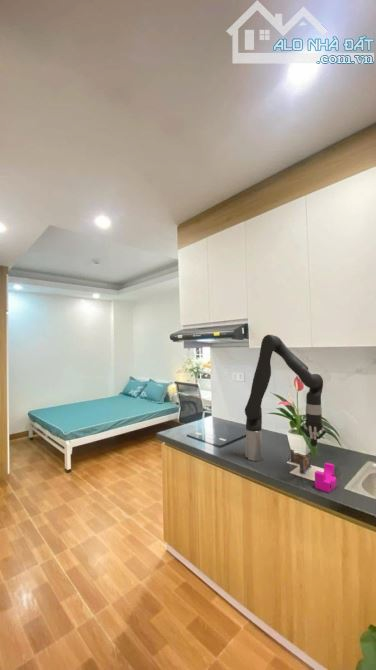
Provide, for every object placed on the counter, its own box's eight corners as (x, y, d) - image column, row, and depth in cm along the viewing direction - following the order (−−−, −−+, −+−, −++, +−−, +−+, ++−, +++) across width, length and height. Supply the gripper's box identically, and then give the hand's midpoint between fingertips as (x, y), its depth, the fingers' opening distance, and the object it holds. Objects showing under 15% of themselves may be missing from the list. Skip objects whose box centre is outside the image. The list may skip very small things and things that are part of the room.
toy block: (329, 493, 126) (328, 476, 126) (315, 488, 130) (314, 472, 131) (339, 481, 136) (339, 466, 137) (326, 477, 141) (326, 462, 141)
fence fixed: (290, 461, 159) (289, 450, 159) (291, 460, 160) (291, 449, 160) (309, 467, 151) (309, 455, 151) (311, 466, 152) (310, 454, 152)
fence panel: (306, 466, 152) (305, 455, 152) (309, 467, 150) (309, 456, 150) (299, 472, 145) (299, 460, 146) (302, 473, 144) (302, 461, 144)
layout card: (277, 469, 151) (277, 468, 151) (290, 459, 162) (290, 459, 162) (320, 483, 135) (320, 482, 135) (331, 471, 146) (331, 470, 146)
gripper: (329, 413, 142) (329, 447, 142) (303, 409, 151) (303, 441, 150) (325, 416, 137) (325, 451, 136) (298, 411, 145) (298, 444, 145)
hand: (313, 445), depth 143 cm, fingers closed
